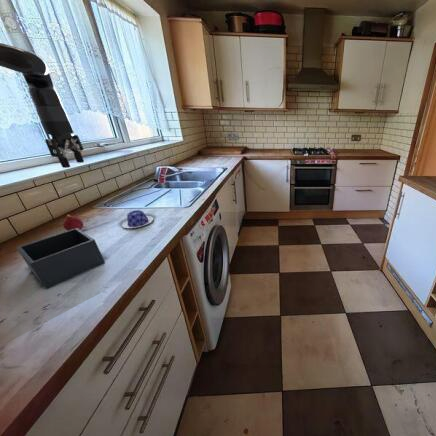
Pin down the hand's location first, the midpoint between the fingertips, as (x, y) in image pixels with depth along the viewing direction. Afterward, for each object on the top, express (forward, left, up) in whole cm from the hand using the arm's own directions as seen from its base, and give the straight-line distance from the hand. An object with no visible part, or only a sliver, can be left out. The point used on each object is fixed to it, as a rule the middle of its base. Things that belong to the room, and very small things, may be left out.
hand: (74, 164), depth 89 cm
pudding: (+10, -14, -27) cm, 31 cm away
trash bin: (-18, -27, -26) cm, 42 cm away
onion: (-8, -1, -27) cm, 28 cm away
